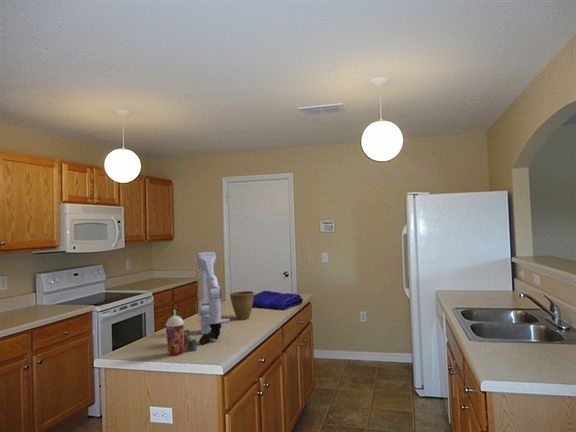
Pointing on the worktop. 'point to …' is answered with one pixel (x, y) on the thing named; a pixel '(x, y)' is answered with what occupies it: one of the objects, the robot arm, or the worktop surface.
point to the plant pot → (242, 304)
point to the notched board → (189, 341)
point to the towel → (276, 300)
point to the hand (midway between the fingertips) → (215, 338)
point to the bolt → (207, 337)
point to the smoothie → (175, 335)
